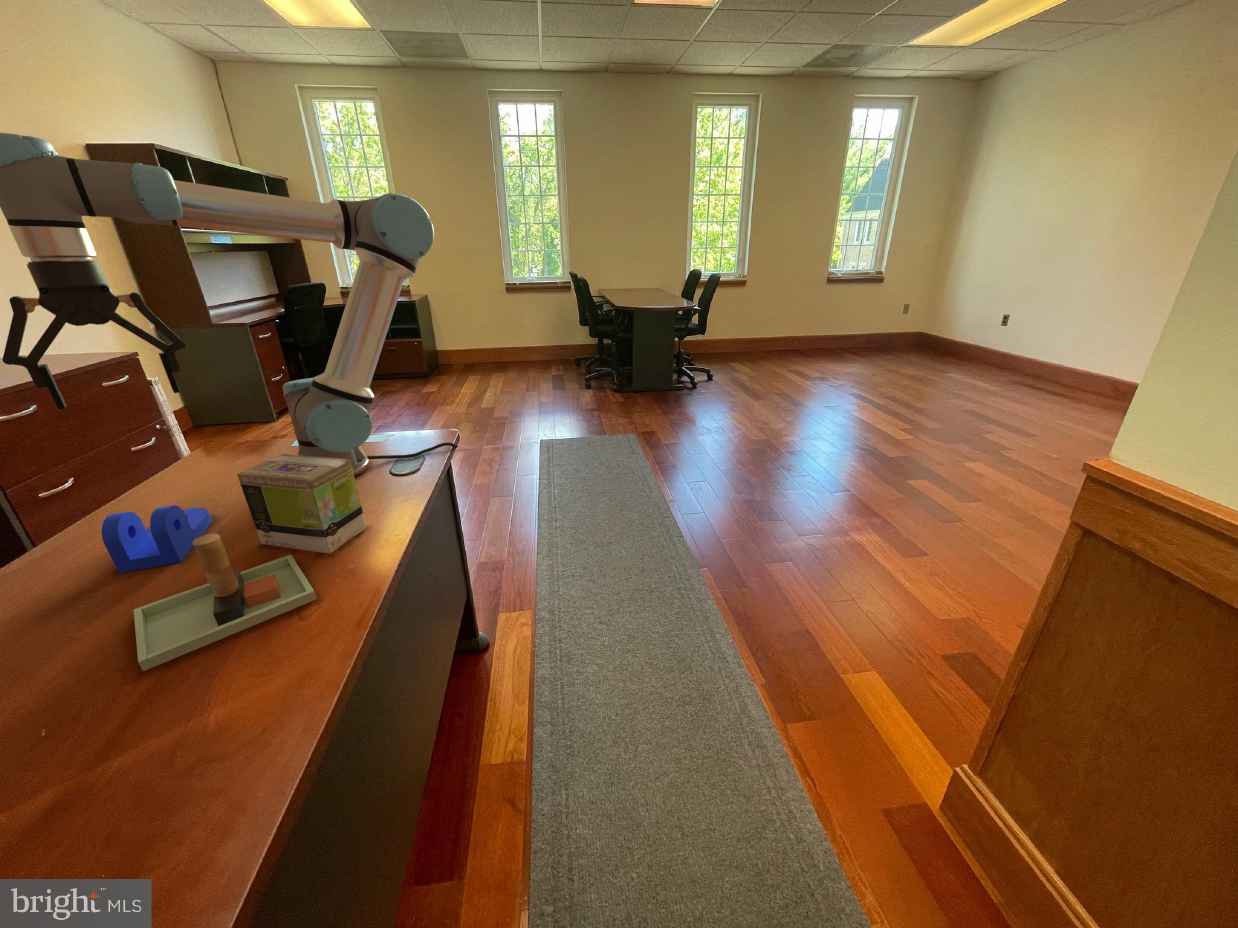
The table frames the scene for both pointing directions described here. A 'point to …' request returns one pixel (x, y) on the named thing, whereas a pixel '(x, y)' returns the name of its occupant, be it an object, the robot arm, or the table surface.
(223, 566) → the brush
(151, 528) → the bracket
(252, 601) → the orange flat block
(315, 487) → the tea box
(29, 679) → the table surface
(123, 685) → the table surface
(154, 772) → the table surface
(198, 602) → the tray
